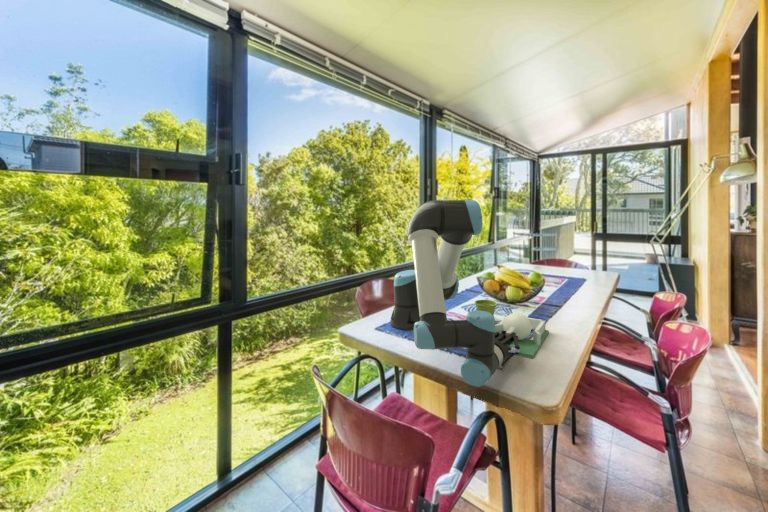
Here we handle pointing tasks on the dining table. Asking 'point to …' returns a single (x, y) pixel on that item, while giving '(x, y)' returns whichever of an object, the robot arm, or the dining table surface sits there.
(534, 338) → the green tray
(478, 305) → the plant pot
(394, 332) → the dining table surface
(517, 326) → the ball
